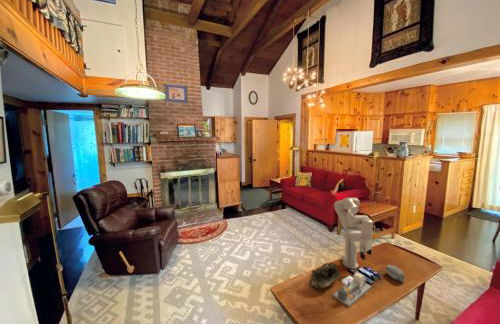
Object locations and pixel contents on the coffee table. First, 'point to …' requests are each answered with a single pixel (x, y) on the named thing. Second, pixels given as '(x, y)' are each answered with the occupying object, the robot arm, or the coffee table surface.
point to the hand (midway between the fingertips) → (365, 256)
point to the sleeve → (359, 279)
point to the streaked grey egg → (395, 273)
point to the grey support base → (351, 293)
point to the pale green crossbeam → (351, 287)
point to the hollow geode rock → (324, 275)
